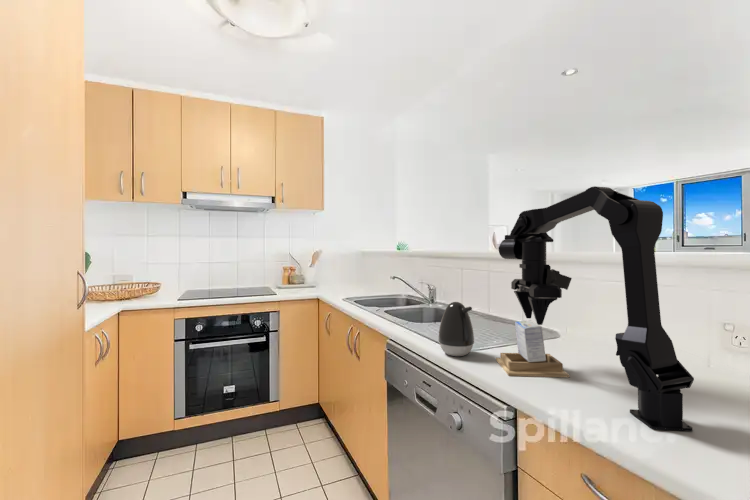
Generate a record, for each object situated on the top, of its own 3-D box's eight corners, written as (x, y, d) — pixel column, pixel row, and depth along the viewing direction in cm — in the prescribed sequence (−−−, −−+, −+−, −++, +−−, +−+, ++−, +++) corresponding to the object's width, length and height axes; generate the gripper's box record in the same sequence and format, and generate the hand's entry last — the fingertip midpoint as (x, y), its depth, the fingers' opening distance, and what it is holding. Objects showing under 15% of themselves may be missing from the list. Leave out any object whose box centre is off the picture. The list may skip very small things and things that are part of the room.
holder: (569, 377, 84) (569, 366, 84) (508, 375, 85) (508, 365, 85) (548, 361, 96) (548, 351, 96) (496, 360, 97) (496, 350, 97)
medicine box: (546, 361, 86) (542, 326, 86) (527, 362, 87) (524, 327, 87) (535, 352, 94) (531, 319, 94) (517, 353, 94) (514, 321, 94)
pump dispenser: (460, 361, 96) (460, 305, 96) (431, 353, 104) (431, 301, 104) (482, 354, 102) (481, 302, 102) (453, 346, 110) (452, 298, 110)
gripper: (585, 261, 80) (585, 330, 80) (551, 259, 99) (551, 314, 99) (534, 261, 81) (534, 329, 81) (510, 259, 100) (510, 314, 100)
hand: (534, 321), depth 90 cm, fingers open, 7 cm apart
